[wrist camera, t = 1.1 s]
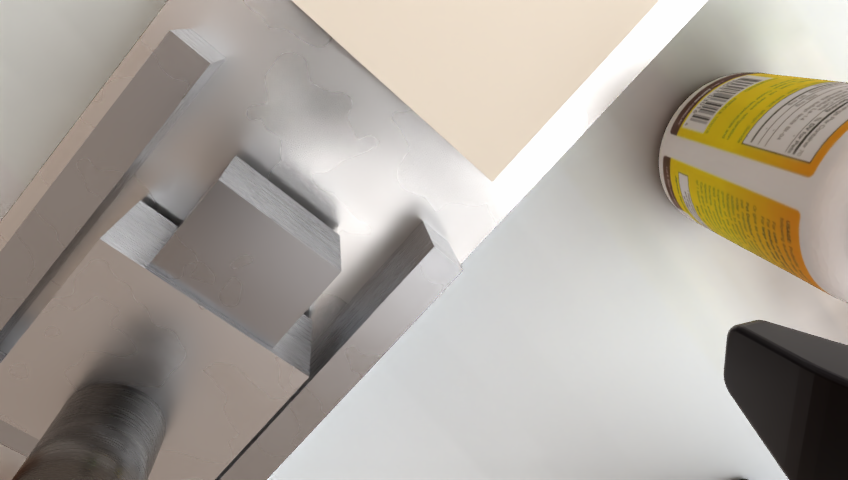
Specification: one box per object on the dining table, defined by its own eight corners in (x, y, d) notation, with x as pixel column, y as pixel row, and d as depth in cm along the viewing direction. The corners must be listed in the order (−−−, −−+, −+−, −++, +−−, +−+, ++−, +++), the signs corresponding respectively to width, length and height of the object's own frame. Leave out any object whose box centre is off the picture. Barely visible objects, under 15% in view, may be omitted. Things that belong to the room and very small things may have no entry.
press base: (727, -43, 20) (810, -55, 17) (239, 483, 24) (224, 559, 21) (469, -382, 16) (506, -491, 13) (-61, 315, 20) (-141, 375, 17)
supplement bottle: (756, 232, 24) (1042, 374, 14) (630, 205, 23) (848, 340, 13) (818, 89, 22) (1187, 141, 13) (685, 52, 21) (980, 79, 11)
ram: (370, 256, 20) (393, 392, 13) (204, 440, 22) (140, 656, 14) (200, 125, 18) (110, 197, 11) (29, 338, 19) (-155, 532, 12)
